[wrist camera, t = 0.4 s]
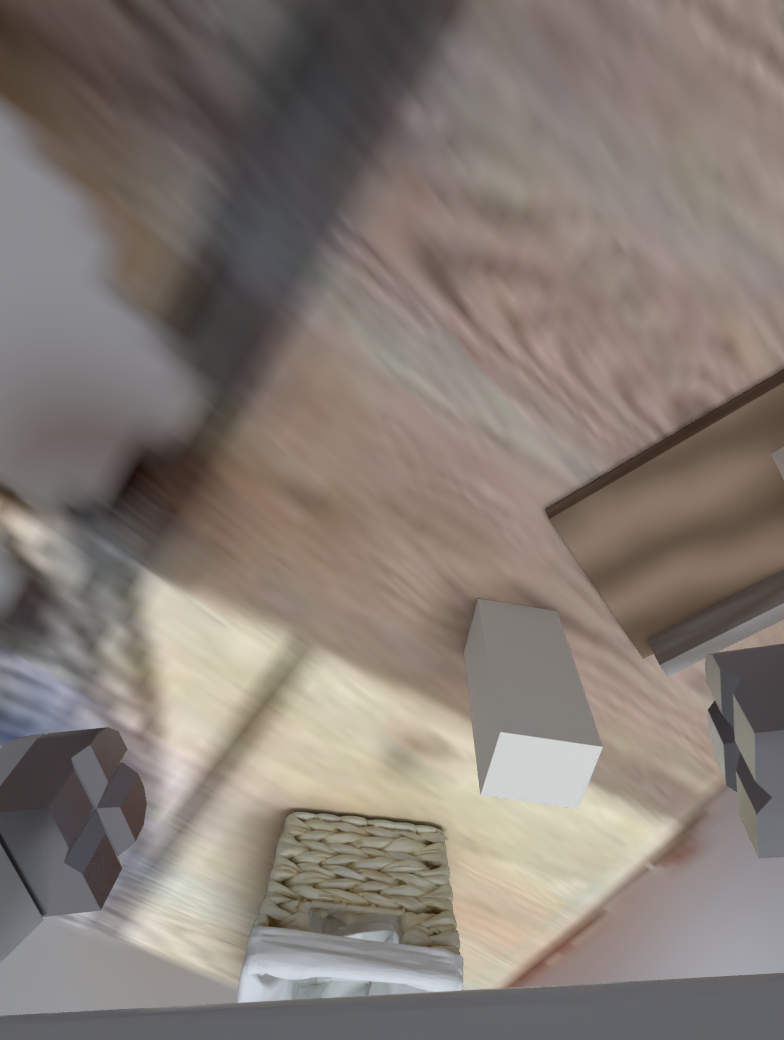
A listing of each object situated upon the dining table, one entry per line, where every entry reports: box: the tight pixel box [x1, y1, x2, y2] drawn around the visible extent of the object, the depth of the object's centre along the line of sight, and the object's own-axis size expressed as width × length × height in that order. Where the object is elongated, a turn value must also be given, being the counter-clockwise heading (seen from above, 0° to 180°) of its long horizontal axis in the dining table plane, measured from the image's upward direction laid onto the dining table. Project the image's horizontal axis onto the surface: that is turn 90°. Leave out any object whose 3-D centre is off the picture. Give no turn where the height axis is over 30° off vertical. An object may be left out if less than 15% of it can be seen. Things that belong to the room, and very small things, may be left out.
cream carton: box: [463, 598, 603, 809], centre depth 50 cm, size 5×6×14 cm
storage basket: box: [237, 812, 464, 1003], centre depth 63 cm, size 24×16×15 cm
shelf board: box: [545, 370, 784, 676], centre depth 48 cm, size 14×24×4 cm, turn 125°
